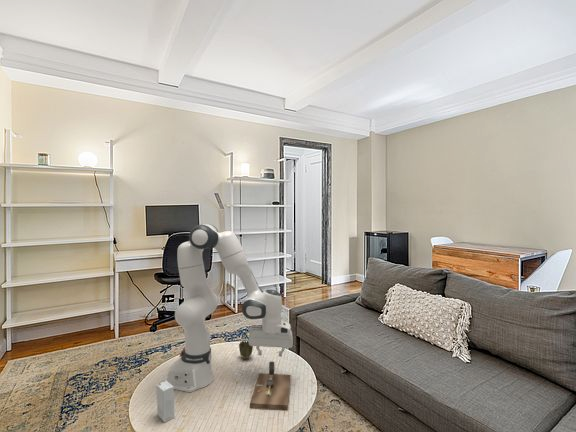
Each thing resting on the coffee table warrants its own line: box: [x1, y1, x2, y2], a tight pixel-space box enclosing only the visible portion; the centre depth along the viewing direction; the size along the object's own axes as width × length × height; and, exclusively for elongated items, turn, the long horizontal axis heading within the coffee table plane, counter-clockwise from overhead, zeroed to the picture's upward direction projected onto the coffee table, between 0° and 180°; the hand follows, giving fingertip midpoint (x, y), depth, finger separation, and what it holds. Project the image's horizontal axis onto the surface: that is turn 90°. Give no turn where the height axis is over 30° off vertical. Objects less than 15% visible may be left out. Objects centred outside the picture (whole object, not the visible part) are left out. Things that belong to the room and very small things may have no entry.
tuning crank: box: [267, 361, 275, 395], centre depth 136 cm, size 16×3×6 cm, turn 178°
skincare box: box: [156, 381, 176, 423], centre depth 118 cm, size 6×4×12 cm
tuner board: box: [249, 372, 292, 411], centre depth 134 cm, size 15×22×2 cm
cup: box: [238, 340, 254, 361], centre depth 163 cm, size 8×7×8 cm
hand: (270, 355), depth 142 cm, fingers open, 8 cm apart
